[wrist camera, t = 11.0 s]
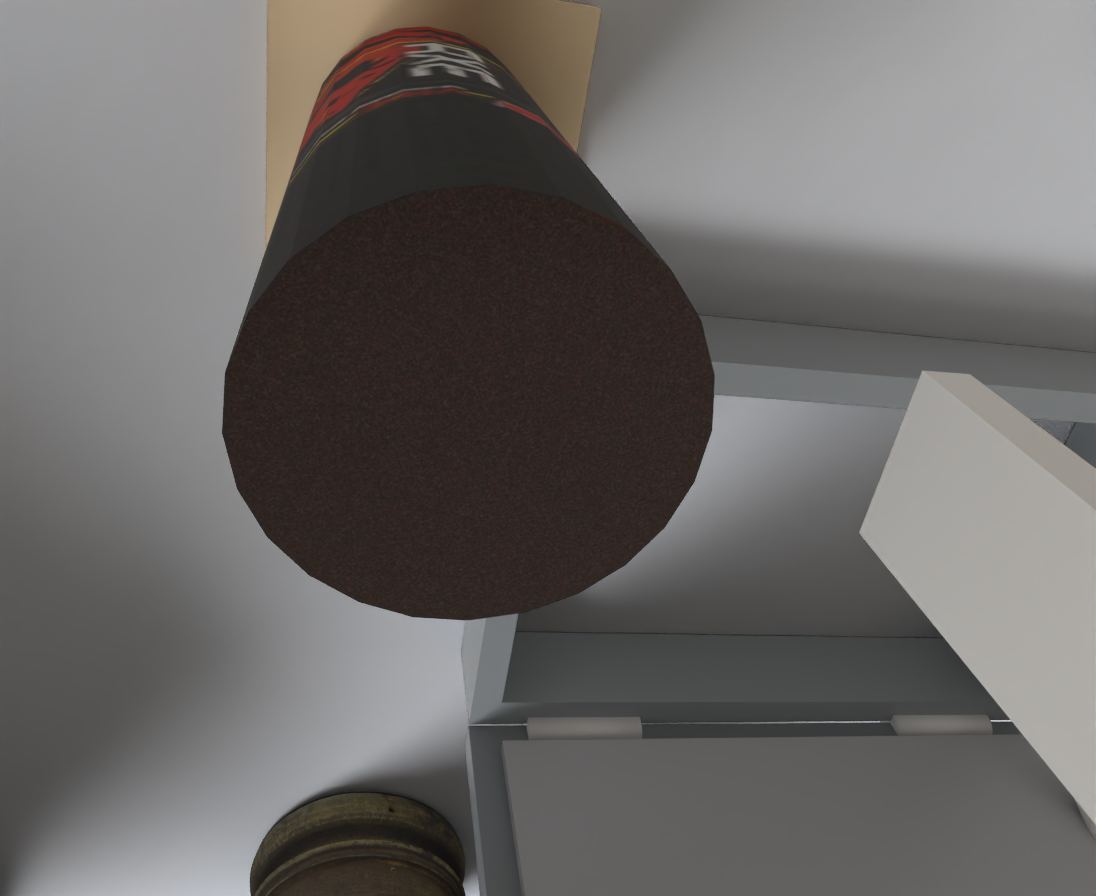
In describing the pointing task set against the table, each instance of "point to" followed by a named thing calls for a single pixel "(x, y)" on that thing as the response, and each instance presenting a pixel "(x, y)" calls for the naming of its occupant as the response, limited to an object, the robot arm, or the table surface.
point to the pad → (444, 3)
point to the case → (776, 710)
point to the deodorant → (458, 349)
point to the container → (360, 850)
